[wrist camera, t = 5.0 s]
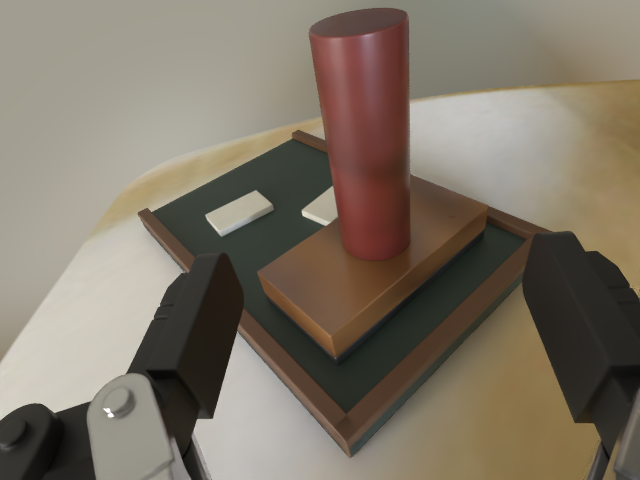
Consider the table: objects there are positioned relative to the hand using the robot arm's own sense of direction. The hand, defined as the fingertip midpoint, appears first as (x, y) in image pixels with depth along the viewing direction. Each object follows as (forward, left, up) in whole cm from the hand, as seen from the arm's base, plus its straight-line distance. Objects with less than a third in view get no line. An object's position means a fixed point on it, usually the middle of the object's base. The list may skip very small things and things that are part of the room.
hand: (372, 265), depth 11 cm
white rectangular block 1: (-3, -16, -8) cm, 18 cm away
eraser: (-5, -5, -8) cm, 11 cm away
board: (-5, -11, -9) cm, 15 cm away
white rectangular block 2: (-8, -11, -8) cm, 16 cm away
